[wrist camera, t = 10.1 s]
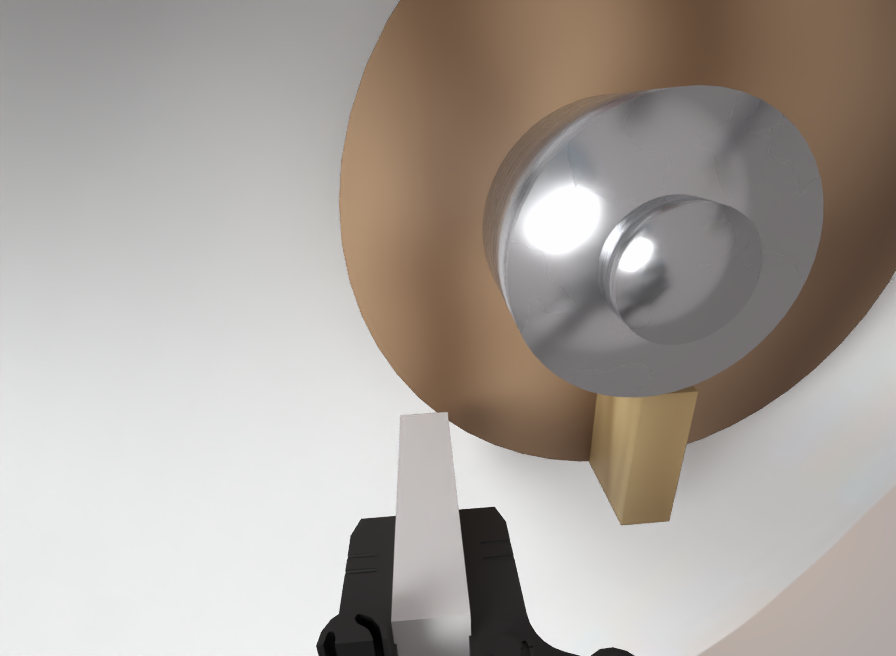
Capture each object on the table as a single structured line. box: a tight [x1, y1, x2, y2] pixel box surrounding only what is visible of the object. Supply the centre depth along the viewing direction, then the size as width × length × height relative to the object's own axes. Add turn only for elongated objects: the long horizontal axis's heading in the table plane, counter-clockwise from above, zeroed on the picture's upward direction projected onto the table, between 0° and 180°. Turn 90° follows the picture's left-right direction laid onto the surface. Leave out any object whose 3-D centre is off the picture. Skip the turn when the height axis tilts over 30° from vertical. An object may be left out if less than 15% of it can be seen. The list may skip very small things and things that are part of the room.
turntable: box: [339, 0, 896, 525], centre depth 13 cm, size 18×18×5 cm
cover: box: [482, 85, 823, 397], centre depth 12 cm, size 7×7×5 cm
